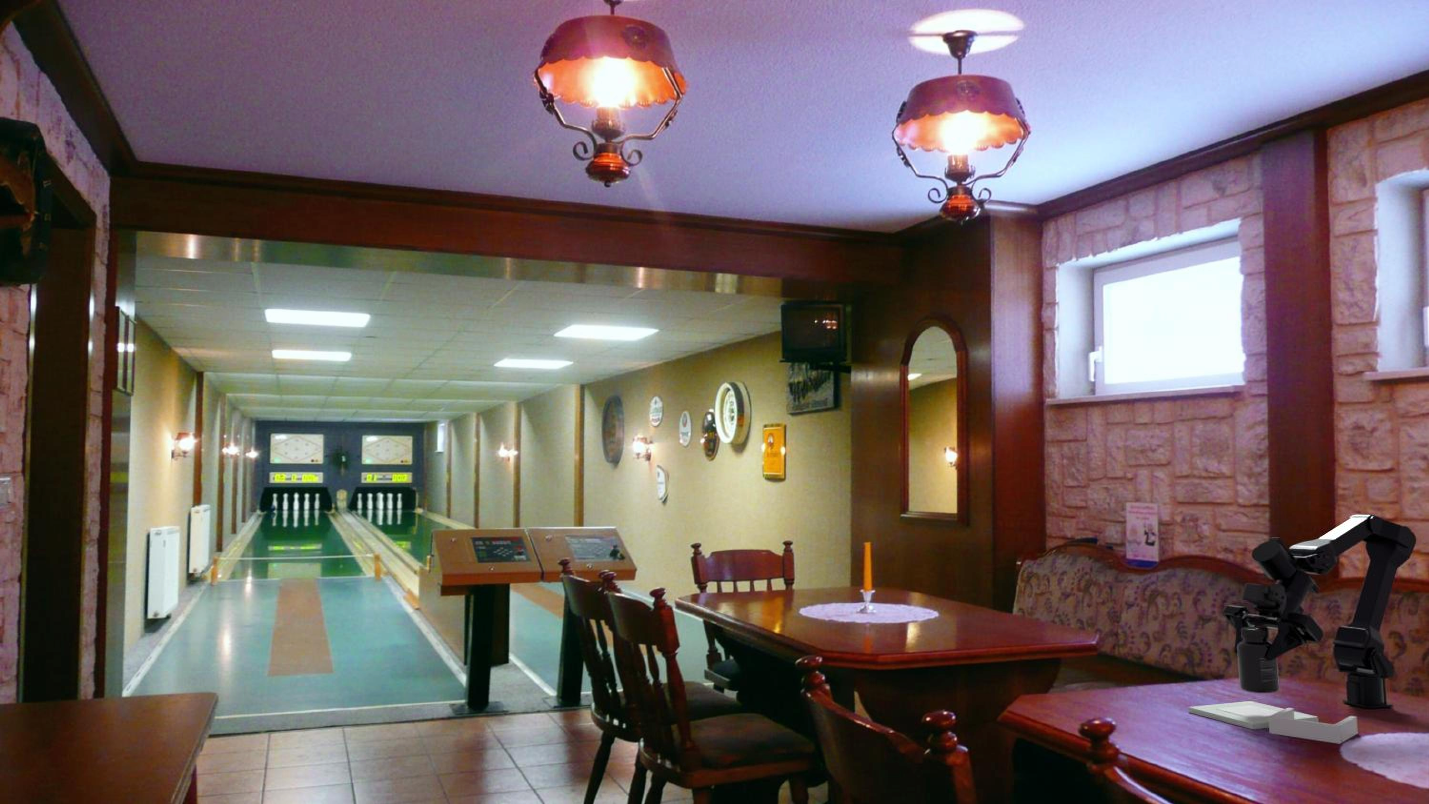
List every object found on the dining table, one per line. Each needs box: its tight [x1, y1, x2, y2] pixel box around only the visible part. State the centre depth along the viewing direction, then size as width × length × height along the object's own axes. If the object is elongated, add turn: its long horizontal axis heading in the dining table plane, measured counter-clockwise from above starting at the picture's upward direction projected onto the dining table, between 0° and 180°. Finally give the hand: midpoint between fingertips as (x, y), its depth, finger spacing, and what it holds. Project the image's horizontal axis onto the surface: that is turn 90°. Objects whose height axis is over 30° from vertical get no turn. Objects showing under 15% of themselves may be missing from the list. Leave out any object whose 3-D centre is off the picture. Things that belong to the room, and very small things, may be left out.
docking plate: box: [1188, 700, 1319, 730], centre depth 201 cm, size 16×16×1 cm
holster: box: [1268, 707, 1359, 745], centre depth 187 cm, size 10×12×3 cm
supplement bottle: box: [1236, 626, 1280, 694], centre depth 200 cm, size 7×7×12 cm
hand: (1251, 656), depth 199 cm, fingers closed on supplement bottle, 7 cm apart
